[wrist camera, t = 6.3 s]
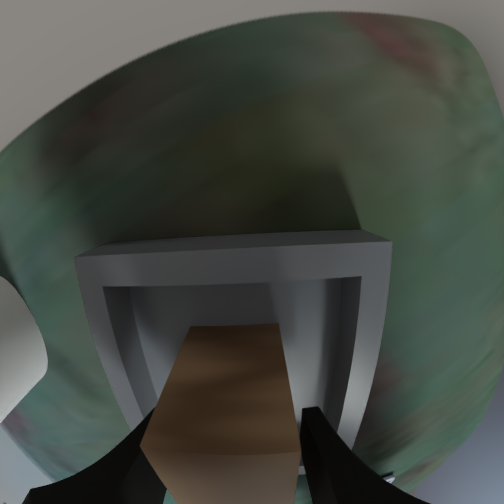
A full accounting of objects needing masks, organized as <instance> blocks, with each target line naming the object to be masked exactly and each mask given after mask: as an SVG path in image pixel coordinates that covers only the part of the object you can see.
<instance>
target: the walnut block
mask: <svg viewBox="0 0 504 504" xmlns="http://www.w3.org/2000/svg"><path fill="white" fill-rule="evenodd" d="M140 447H141V449H142V451H143V453H144V454H145V456H146V458H147V459H148V461H149V462H150V464H151V466H152V467H153V469H154V470H155V472H156V473H157V475H158V476H159V478H160V479H161V481H162V482H163V484H164V485H165V487H166V488H167V489H168V491H169V492H170V494H171V495H172V496H173V498H174V499H175V500H176V502H177V503H178V504H294V500H295V493H296V487H297V480H298V473H299V466H300V458H301V446H300V440H299V434H298V428H297V423H296V417H295V411H294V405H293V400H292V394H291V388H290V383H289V377H288V371H287V366H286V360H285V355H284V349H283V344H282V338H281V333H280V328H279V323H270V324H253V325H230V326H190V328H189V330H188V333H187V335H186V337H185V339H184V342H183V344H182V346H181V349H180V351H179V353H178V355H177V358H176V360H175V362H174V365H173V367H172V369H171V372H170V374H169V376H168V379H167V381H166V383H165V386H164V388H163V390H162V393H161V395H160V397H159V400H158V402H157V405H156V407H155V409H154V412H153V414H152V417H151V419H150V421H149V424H148V426H147V429H146V431H145V434H144V436H143V439H142V441H141V444H140Z"/></svg>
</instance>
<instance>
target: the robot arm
mask: <svg viewBox="0 0 504 504" xmlns="http://www.w3.org/2000/svg"><path fill="white" fill-rule="evenodd" d="M154 409H155V407H154V408H153V409H152V410H151V411H150V413H149V414H148V415H147V416H146V417H145V418H144V419H143V420H142V421H141V422H140V423H139V424H138V426H137V427H136V428H135V429H134V430H133V431H132V432H131V433H130V434H129V435H128V436H127V437H126V438H125V439H124V440H123V441H121V442H120V443H119V444H118V445H117V446H116V447H115V448H113V449H112V450H111V451H110V452H109V453H108V454H106V455H105V456H104V457H102V458H101V459H100V460H98V461H97V462H95V463H94V464H92V465H91V466H89V467H87V468H86V469H84V470H82V471H80V472H78V473H77V474H75V475H73V476H70V477H68V478H66V479H63V480H61V481H58V482H55V483H52V484H49V485H46V486H41V487H37V488H32V489H30V491H29V493H28V494H27V496H26V498H25V500H24V502H23V503H22V504H163V501H164V497H165V493H166V490H167V488H166V487H165V485H164V484H163V482H162V481H161V479H160V478H159V476H158V475H157V473H156V472H155V470H154V469H153V467H152V466H151V464H150V462H149V461H148V459H147V458H146V456H145V454H144V453H143V451H142V449H141V447H140V444H141V441H142V439H143V436H144V434H145V431H146V429H147V426H148V424H149V421H150V419H151V417H152V414H153V412H154ZM299 438H300V446H301V455H302V461H303V465H304V469H305V473H306V477H307V481H308V485H309V489H310V493H311V497H312V502H313V504H430V503H427V502H425V501H422V500H420V499H418V498H415V497H413V496H411V495H409V494H407V493H405V492H404V491H402V490H400V489H399V488H397V487H395V486H394V485H392V484H391V483H392V481H393V480H394V478H395V477H394V475H390V476H387V477H384V478H382V477H380V476H379V475H378V474H376V473H375V472H374V471H373V470H372V469H370V468H369V467H368V466H367V465H366V464H365V463H364V462H363V461H361V460H360V459H359V458H358V457H357V456H356V455H355V454H354V452H353V451H352V450H351V449H350V448H349V447H348V446H347V445H346V444H345V442H344V441H343V440H342V439H341V438H340V436H339V435H338V434H337V433H336V431H335V430H334V429H333V427H332V426H331V424H330V423H329V421H328V420H327V419H326V417H325V415H324V414H323V412H322V410H321V409H320V408H319V407H318V406H315V407H307V408H302V417H301V427H300V437H299ZM3 504H6V503H3Z"/></svg>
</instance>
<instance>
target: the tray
mask: <svg viewBox="0 0 504 504" xmlns="http://www.w3.org/2000/svg"><path fill="white" fill-rule="evenodd" d="M392 242H393V241H391V240H388V239H385V238H383V237H380V236H378V235H375V234H373V233H370V232H367V231H365V230H362V229H361V230H330V231H303V232H279V233H257V234H237V235H219V236H201V237H185V238H169V239H154V240H139V241H125V242H112V243H107V244H104V245H102V246H99V247H97V248H94V249H92V250H90V251H87V252H85V253H82V254H80V255H78V256H75V257H74V260H75V266H76V271H77V276H78V281H79V286H80V290H81V295H82V299H83V303H84V307H85V311H86V315H87V318H88V322H89V325H90V329H91V332H92V336H93V339H94V342H95V345H96V348H97V351H98V354H99V357H100V360H101V362H102V365H103V368H104V371H105V373H106V376H107V378H108V381H109V383H110V386H111V388H112V391H113V393H114V395H115V398H116V400H117V402H118V404H119V407H120V409H121V411H122V413H123V415H124V417H125V419H126V421H127V423H128V425H129V427H130V429H131V431H133V430H134V429H135V428H136V427H137V426H138V424H139V423H140V422H141V421H142V420H143V419H144V418H145V417H146V416H147V415H148V414H149V413H150V411H151V410H152V409H153V408H154V407H156V405H157V402H158V400H159V397H160V395H161V393H162V390H163V388H164V386H165V383H166V381H167V379H168V376H169V374H170V372H171V369H172V367H173V365H174V362H175V360H176V358H177V355H178V353H179V351H180V349H181V346H182V344H183V342H184V339H185V337H186V335H187V333H188V330H189V328H190V326H230V325H253V324H270V323H279V328H280V333H281V338H282V344H283V349H284V355H285V360H286V366H287V371H288V377H289V383H290V388H291V394H292V400H293V405H294V411H295V417H296V423H297V428H298V434H299V437H300V427H301V417H302V408H307V407H315V406H318V407H319V408H320V409H321V410H322V412H323V414H324V415H325V417H326V419H327V420H328V421H329V423H330V424H331V426H332V427H333V429H334V430H335V431H336V433H337V434H338V435H339V436H340V438H341V439H342V440H343V441H344V442H345V444H346V445H347V446H348V447H349V448H350V449H351V450H352V448H353V445H354V442H355V439H356V436H357V433H358V430H359V427H360V424H361V421H362V418H363V414H364V411H365V408H366V404H367V401H368V397H369V393H370V389H371V385H372V381H373V377H374V373H375V369H376V364H377V360H378V355H379V350H380V345H381V339H382V334H383V328H384V321H385V315H386V308H387V300H388V292H389V283H390V272H391V259H392ZM299 440H300V438H299ZM302 474H306V473H305V469H304V465H303V461H302V455H301V458H300V466H299V473H298V475H302Z"/></svg>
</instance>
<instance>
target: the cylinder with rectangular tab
mask: <svg viewBox="0 0 504 504" xmlns="http://www.w3.org/2000/svg"><path fill="white" fill-rule="evenodd" d="M47 362H48V359H47V354H46V348H45V345H44V342H43V339H42V336H41V332H40V330H39V328H38V326H37V324H36V322H35V319H34V317H33V315H32V314H31V312H30V310H29V308H28V307H27V305H26V303H25V301H24V300H23V299H22V297H21V296H20V295H19V293H18V292H17V290H16V289H15V288H14V287H13V286H12V285H11V284H10V283H9V282H8V281H7V280H6V279H4V278H3V277H1V276H0V423H1V422H2V421H3V420H4V418H5V417H6V416H7V415H8V414H9V413H10V412H11V410H12V409H13V408H14V407H15V406H16V405H17V404H18V403H19V402H20V401H21V399H22V398H23V397H24V396H25V395H26V394H27V393H28V392H29V391H30V390H31V389H32V388H33V387H34V386H35V384H36V383H37V382H38V381H39V380H40V379H41V378H42V377H43V376H44V375H45V373H46V371H47Z"/></svg>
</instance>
